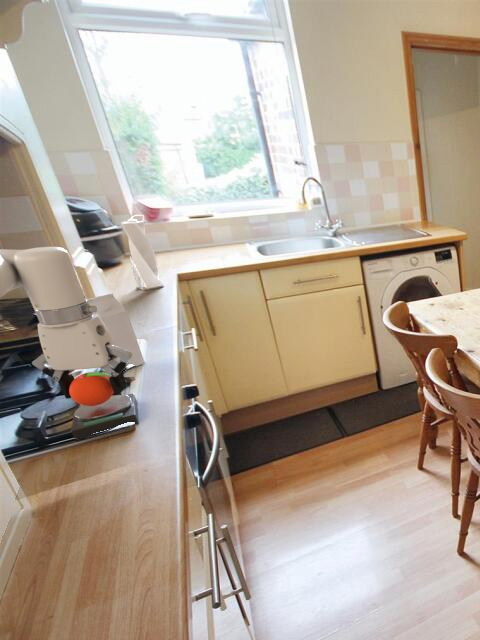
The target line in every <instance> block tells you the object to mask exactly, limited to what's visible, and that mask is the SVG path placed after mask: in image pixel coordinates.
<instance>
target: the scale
mask: <svg viewBox="0 0 480 640" xmlns="http://www.w3.org/2000/svg"><path fill="white" fill-rule="evenodd" d="M125 396H129V397H130V398H131V401H132V404H131V406H130V407H129V408H127V409H126V410H125V411H123V412H121V413H119V414H116V415H112V416H109V417H105V418H101V419H97V420H93V421H79V420H77V419H76V417H75V415H74V414H73V417H72V423H71V429H70V432H71V434H72V437H73V439H74V438H80V437H85V436H88V435H91V434H93V433H96V432H100V431H104V430H107V429H110V428H113V427H116V426H118V425H121V424H124V423H127V422H135V424H137V425H139V424H140V422H139V421H140V420H139V408H138V409H137V406H138V400H137V397H136V394H135V392H133V393H132V392H131V393H128V394H125ZM79 406H80V407H81V406H82V405H79Z"/></svg>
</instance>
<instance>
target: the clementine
mask: <svg viewBox="0 0 480 640" xmlns="http://www.w3.org/2000/svg"><path fill="white" fill-rule="evenodd" d="M110 376H111V375H110V374H108V373H104V372H96V371H89V372H85V373H82V374H79V375H78V376H76V377H74V380H73V381H72V383H71V385H70V388H69V393H70V396H71V398H70V399H71V400H73V401H74V402H75V403H76V404H79V405H80V406H82V405H84V406H96V405H100V404H102V403H105V402H106V401H107V400H109V399H110V398H111V396H114V394H115V393H114V391H113V388H112V386H111V383H110V380H109V377H110Z"/></svg>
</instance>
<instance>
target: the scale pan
mask: <svg viewBox="0 0 480 640" xmlns="http://www.w3.org/2000/svg"><path fill="white" fill-rule="evenodd" d="M125 395H126V394H125ZM125 395H124V394H115V395H114V394H113V395H112V396H111V398H110V399H109V400H107V401H106V402H105V403H102V404H100V405H96V406H84V405H80V406H81V407H79V406H78V407H79V408H78V409H77V410H76V411H75V410H74V411H75V413H74V412H73V416H74V415H75V417H76V419H77V420H79V421H93V420H97V419H101V418H105V417H109V416H112V415H116V414H119V413H121V412H123V411H125V410H126V409H127V408H129V407H130V406H131V404H132V401H131V398H130V397H129V396H125Z"/></svg>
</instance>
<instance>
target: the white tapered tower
mask: <svg viewBox="0 0 480 640" xmlns="http://www.w3.org/2000/svg"><path fill="white" fill-rule="evenodd" d="M139 216H140V217H141V216H142V220H138V219H137V218H134V217H139ZM145 218H146V215H145V214H141V213H139V214H138V213H137V214H134V215H133V214H132V215H131V216H130V217H129V219H127V220H123V221H121V222H120V224H121V226H122V228H123V230H124V232H125V234H126V236H127V238H128V247H129V252H130V255H129V259H130V260H129V261H130V264H131V270H132V274H133V277H134V281H135V284H136V288H137V289H139V290H140V291H143V292H145V291H149V290H155V289H160V288H163V287H165V285H164V284H163V283H162V282H161V281H160V276H159V267H158V262H157V261H158V260H157V256H156V253H155V251H154V248H153V246H152V244H151V241H150V240H149V239H148V237H147V234H146V225H145V223H146V222H145ZM141 280H142V281H141Z"/></svg>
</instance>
